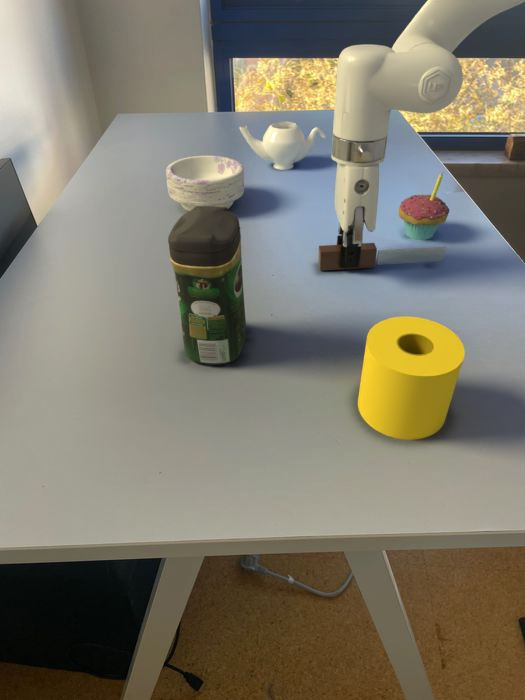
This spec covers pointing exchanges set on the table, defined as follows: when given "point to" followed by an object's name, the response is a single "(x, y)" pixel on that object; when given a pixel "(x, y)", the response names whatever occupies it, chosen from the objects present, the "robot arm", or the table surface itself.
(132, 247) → the table surface
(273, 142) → the teapot
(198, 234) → the coffee jar
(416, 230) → the cupcake
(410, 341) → the tape roll
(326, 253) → the knife
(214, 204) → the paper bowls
